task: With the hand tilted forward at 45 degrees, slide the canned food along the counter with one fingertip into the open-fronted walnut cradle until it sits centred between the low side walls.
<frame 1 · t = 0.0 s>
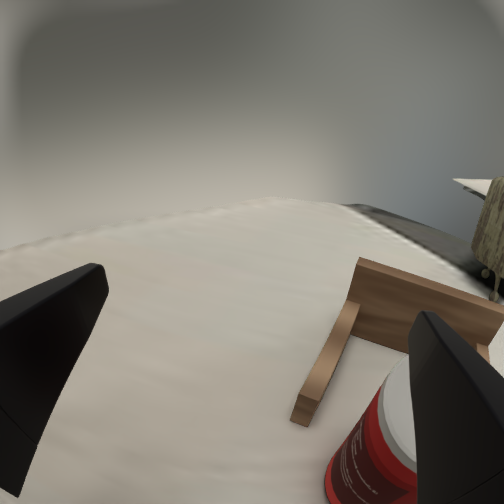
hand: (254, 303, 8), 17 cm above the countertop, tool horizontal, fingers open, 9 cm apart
tabletop clock: (491, 284, 39), on the countertop
canned food: (372, 480, 16), on the countertop
cradle: (397, 397, 23), on the countertop
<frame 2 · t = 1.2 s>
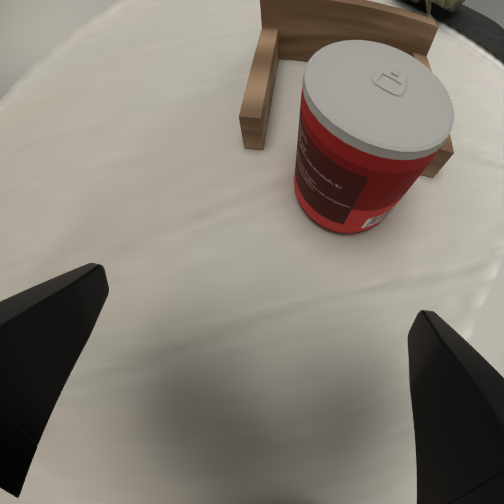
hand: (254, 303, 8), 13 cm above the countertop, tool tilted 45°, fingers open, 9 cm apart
tabletop clock: (423, 8, 30), on the countertop
canned food: (343, 188, 22), on the countertop
cradle: (344, 106, 24), on the countertop
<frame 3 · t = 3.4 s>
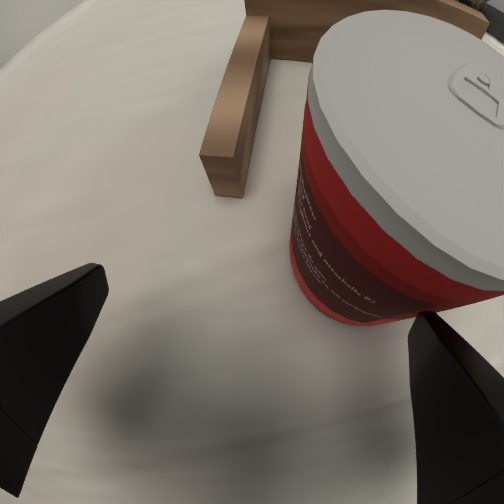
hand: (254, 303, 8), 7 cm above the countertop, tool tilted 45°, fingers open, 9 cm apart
tabletop clock: (446, 3, 23), on the countertop
canned food: (362, 250, 15), on the countertop, touching gripper
cradle: (362, 127, 17), on the countertop
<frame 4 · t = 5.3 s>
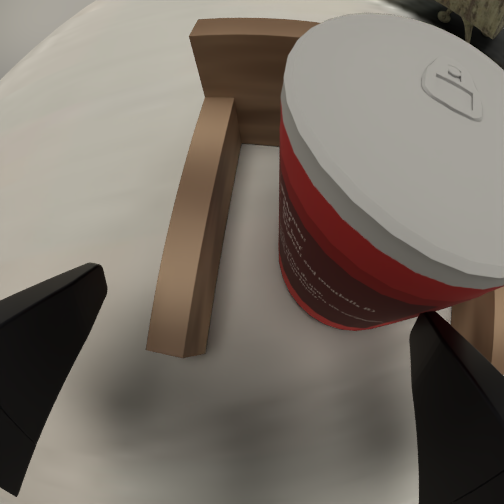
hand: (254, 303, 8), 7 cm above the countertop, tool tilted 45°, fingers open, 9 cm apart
tabletop clock: (455, 31, 22), on the countertop
canned food: (351, 255, 15), on the countertop, touching gripper
cradle: (348, 252, 15), on the countertop
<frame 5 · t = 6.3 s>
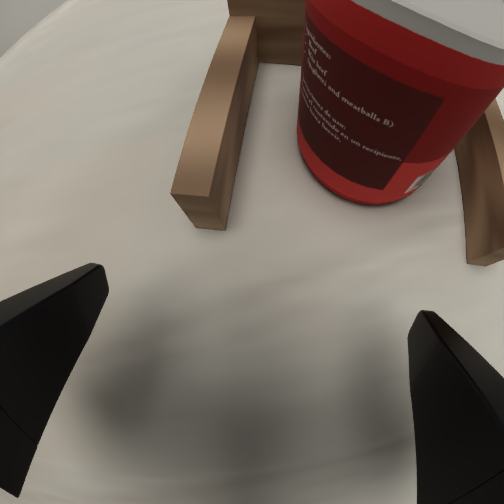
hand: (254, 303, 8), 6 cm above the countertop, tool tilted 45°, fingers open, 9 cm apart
canned food: (362, 146, 16), on the countertop
cradle: (360, 143, 16), on the countertop
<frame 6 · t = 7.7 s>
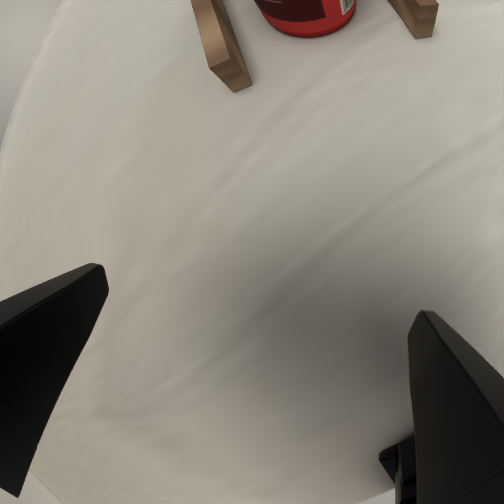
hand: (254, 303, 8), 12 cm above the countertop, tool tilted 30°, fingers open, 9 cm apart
canned food: (310, 7, 18), on the countertop
cradle: (307, 5, 18), on the countertop
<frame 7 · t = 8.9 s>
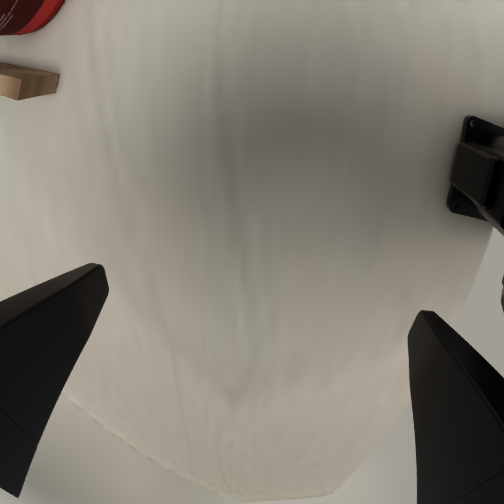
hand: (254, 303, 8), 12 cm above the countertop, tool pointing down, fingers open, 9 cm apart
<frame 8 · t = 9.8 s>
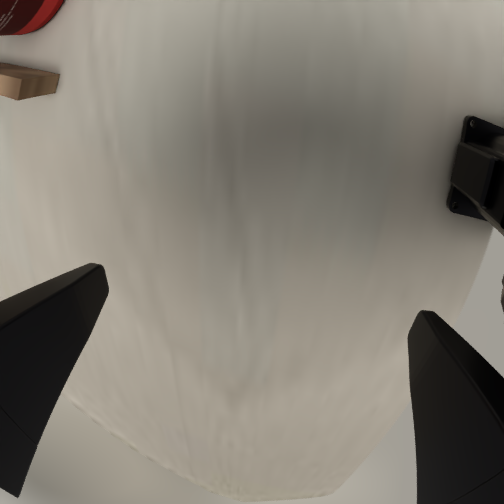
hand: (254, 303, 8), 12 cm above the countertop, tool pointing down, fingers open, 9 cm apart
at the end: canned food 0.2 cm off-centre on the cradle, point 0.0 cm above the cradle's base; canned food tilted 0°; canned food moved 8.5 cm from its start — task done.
